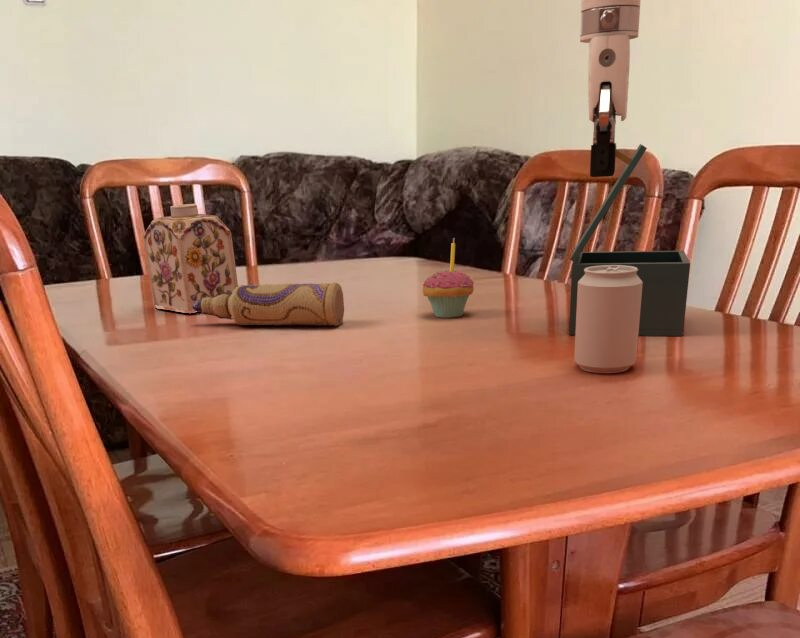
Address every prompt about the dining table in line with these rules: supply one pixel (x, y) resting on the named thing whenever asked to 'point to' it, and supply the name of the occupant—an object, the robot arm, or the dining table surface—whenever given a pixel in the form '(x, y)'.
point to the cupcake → (448, 290)
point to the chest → (645, 287)
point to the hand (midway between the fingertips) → (602, 174)
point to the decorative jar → (189, 258)
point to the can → (607, 318)
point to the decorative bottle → (278, 304)
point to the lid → (609, 197)
